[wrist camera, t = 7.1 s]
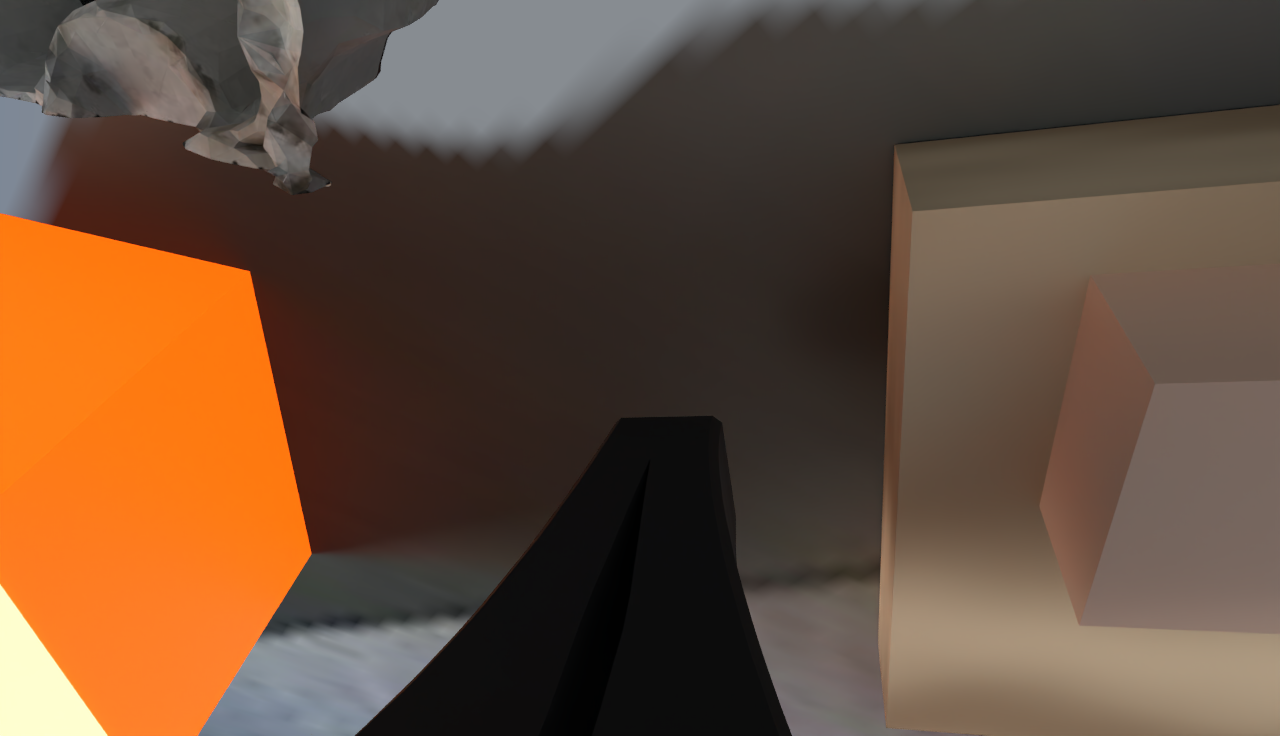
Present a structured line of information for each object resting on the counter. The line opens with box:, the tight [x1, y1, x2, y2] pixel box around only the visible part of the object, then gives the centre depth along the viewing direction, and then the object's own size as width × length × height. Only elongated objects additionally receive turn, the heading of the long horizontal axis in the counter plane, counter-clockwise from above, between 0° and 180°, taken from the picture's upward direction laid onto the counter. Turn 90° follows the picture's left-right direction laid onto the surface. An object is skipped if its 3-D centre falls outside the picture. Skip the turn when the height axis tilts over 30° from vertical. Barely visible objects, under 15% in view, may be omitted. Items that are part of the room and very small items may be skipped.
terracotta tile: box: [1039, 264, 1280, 634], centre depth 8 cm, size 4×4×2 cm
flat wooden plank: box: [878, 105, 1280, 736], centre depth 12 cm, size 12×10×2 cm
